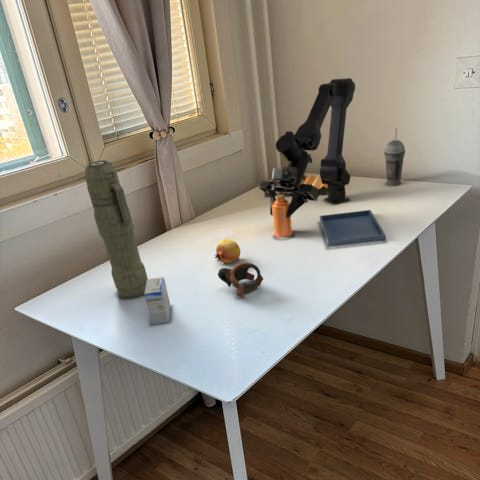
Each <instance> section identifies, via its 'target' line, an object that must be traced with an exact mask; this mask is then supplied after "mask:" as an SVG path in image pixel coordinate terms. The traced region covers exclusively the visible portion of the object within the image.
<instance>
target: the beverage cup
mask: <svg viewBox="0 0 480 480" xmlns="http://www.w3.org/2000/svg"><path fill="white" fill-rule="evenodd" d="M394 132H395V133H394V139H393V140H391V141H389V142H388V143H386V146H385V148H384V159H385V170H386V183H387V185H388V186H391V187H392V186H399V185H401V179H402V174H403V173H402V172H403V164H404V158H405V154H406V148H405V145H404V143H403V142H402V141H401V140H399V139H397V137H398V136H397V134H398V128H397V127H395V128H394Z"/></svg>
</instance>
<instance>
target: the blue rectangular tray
mask: <svg viewBox="0 0 480 480" xmlns="http://www.w3.org/2000/svg"><path fill="white" fill-rule="evenodd" d="M319 222H320V226H321V229H322V231H323V234H324V237H325V240H326V244H327V246H328V248H329V247H337V246H338V247H339V246H345V245H355V244H362V243H363V244H364V243H372V242H380V241H386V238H387V237H386V233H385V231H384V230H383V228H382V226H381V225H380V223H379V222H378V220H377V218H376V217H375V215H374V213H373V212H372V210H371V209H366V210H365V209H364V210H358V211H349V212H341V213H333V214H332V213H331V214H324V215H319Z"/></svg>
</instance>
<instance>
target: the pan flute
mask: <svg viewBox="0 0 480 480" xmlns="http://www.w3.org/2000/svg"><path fill="white" fill-rule="evenodd" d="M304 176H305V177H306V178H305V180H302V182H301V184H310V185H313V186H314V188H315V189H316V190H317V191H318V193H319V195H320V196H325V195H327V196H328V186H327V184H322V181H321V177H320V175H318V176H317V177H316V176H314V175H313V174H310V175H307V174H305V173H304ZM271 181H273V182H274V183H275V184H276V185H277V186H280V185H281V184H279V183H278V182H277V181H278V180H275V179H271ZM301 184H300V185H301ZM263 194H264V197H266V198H270V196H268V195H266V194H265V193H264V192H263ZM279 194H284V195H285V197H290V196H291V194H290V193H279Z"/></svg>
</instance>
